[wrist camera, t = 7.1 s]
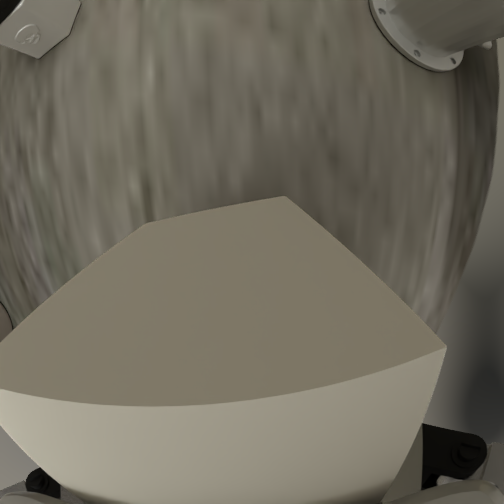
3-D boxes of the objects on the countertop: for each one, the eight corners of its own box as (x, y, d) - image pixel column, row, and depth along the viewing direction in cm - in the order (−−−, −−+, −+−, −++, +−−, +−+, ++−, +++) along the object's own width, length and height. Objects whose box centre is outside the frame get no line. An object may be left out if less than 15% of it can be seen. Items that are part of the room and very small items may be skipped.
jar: (26, 72, 18) (-46, 54, 7) (20, 30, 16) (-38, 6, 4) (87, 24, 17) (25, -23, 6) (77, -14, 15) (27, -58, 4)
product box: (285, 195, 11) (446, 346, 2) (308, 390, 15) (347, 546, 5) (140, 224, 12) (-39, 376, 2) (204, 404, 15) (188, 558, 5)
